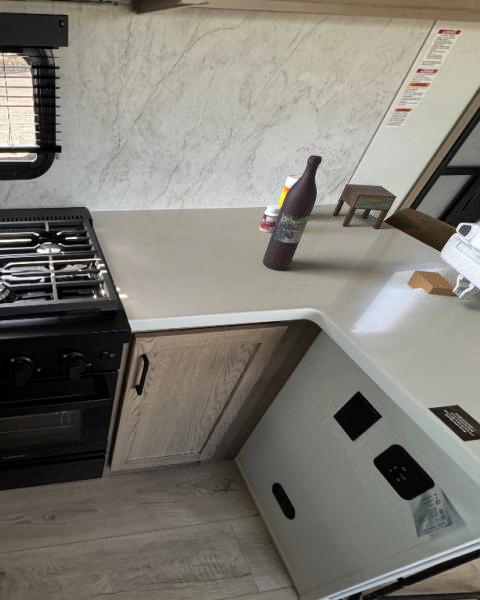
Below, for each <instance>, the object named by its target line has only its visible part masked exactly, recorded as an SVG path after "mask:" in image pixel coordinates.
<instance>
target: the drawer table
mask: <svg viewBox="0 0 480 600" xmlns="http://www.w3.org/2000/svg"><path fill="white" fill-rule="evenodd" d="M396 199H397V195H395V194H394V193H392V192H391V191H389V190H388V189H387V188H385V187H383V185H371V184H353V183H346V184H345V186H344V189H343V190H342V192H341V194H340V197H339V199H338V201H337V203H336V206H335V208H334V211H333V213H332V216H333V217H339V215H340V213H341V211H342V208H343V206H344V204H346V205H348V207H349V209H348V212H347V214H346V216H345V218H344V220H343V221H342V224H341V226H343V227H346V228H348V227H349V226H350V223H351V221H352V220H353V218H354V215H355V213H356V211H357V210H363V212H362V214H361V218H362V219H368V217H369V215H370V214H371V211H380V213H379V214H378V217H377V218H376V221H374V224H373V226H372V228H373V229H374V230H380V228H381V226H382V224H383V223H384V221H385V219H386V217H387V215H388V213H389V212H390V210H391V208H392V206H393V205H394V202H395V201H396Z"/></svg>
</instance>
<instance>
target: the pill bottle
mask: <svg viewBox="0 0 480 600" xmlns="http://www.w3.org/2000/svg"><path fill="white" fill-rule="evenodd" d="M280 209H281V207H280V206H278V204H273V203H272V204H271V203H270V204H268V205H267V206H266V210H265V211H264V212H263V217H262V219H261V222H260V226H259V230H260V231H261V232H264V233H272V232H273V230H274V227H275V224H276V221H277V218H278V215H279V212H280Z"/></svg>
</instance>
